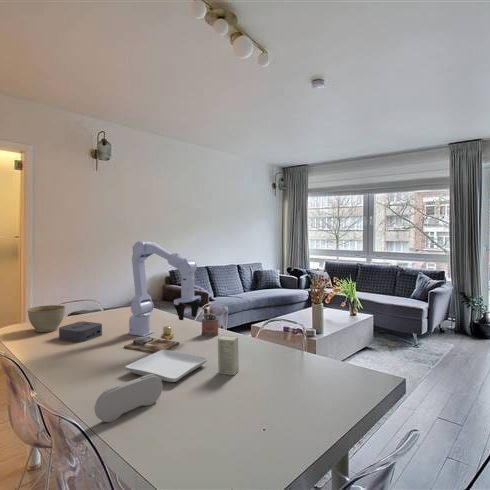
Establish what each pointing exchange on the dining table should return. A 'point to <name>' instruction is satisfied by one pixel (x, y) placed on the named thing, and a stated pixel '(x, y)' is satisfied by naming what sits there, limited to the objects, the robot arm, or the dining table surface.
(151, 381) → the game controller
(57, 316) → the planter bowl
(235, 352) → the skincare box
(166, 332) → the brass gear
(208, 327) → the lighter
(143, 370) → the salad plate
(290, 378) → the dining table surface
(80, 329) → the streaming box
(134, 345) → the gear board
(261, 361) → the dining table surface
